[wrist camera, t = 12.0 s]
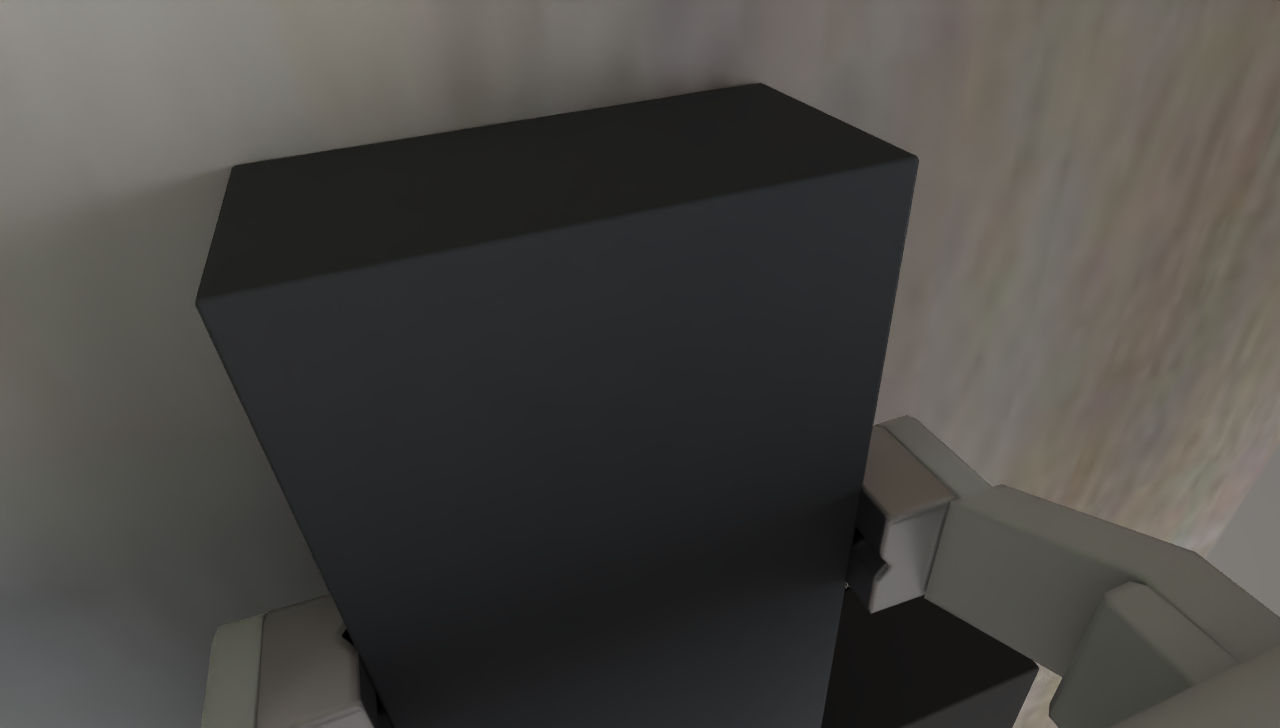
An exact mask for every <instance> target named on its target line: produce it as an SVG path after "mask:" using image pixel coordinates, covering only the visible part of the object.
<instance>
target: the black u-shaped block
mask: <svg viewBox="0 0 1280 728" xmlns="http://www.w3.org/2000/svg"><path fill="white" fill-rule="evenodd" d="M924 597H925V595H922V596H919V597H916V598H914V599H911V600H908V601H905V602H902V603H899V604H896V605H894V606H891V607H888V608H885V609H882V610H879V611H877V612H874V613H871V614H870V612H869V611H868V610H867V608H866V607H865V606H864V604H863V603H862V602H861V600H860V599H859V598H858V597H857V595H856V594H855V593H854V591H853V590H852V589H849V590H847V591H844V596H843V602H842V608H841V614H840V620H839V625H838V631H837V637H836V643H835V648H834V654H833V660H832V666H831V671H830V677H829V683H828V689H827V695H826V700H825V706H824V712H823V718H822V723H821V728H1012V727H1013V725H1014V723H1015V720H1016V718H1017V716H1018V714H1019V712H1020V710H1021V707H1022V705H1023V703H1024V701H1025V699H1026V697H1027V694H1028V692H1029V690H1030V688H1031V686H1032V684H1033V681H1034V679H1035V677H1036V675H1037V673H1038V671H1039V667H1038V666H1037V664H1036V663H1035V662H1034V661H1033V660H1032V659H1030V658H1028V657H1026V656H1025V655H1023V654H1021V653H1019V652H1018V651H1016V650H1014V649H1012V648H1011V647H1009V646H1007V645H1005V644H1004V643H1002V642H1000V641H999V640H997V639H995V638H993V637H992V636H990V635H988V634H986V633H985V632H983V631H981V630H979V629H978V628H976V627H974V626H972V625H971V624H969V623H967V622H965V621H964V620H962V619H960V618H958V617H957V616H955V615H953V614H951V613H950V612H948V611H946V610H944V609H943V608H941V607H939V606H937V605H936V604H934V603H932V602H930V601H929V600H927V599H925V598H924Z"/></svg>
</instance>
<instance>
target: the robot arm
mask: <svg viewBox="0 0 1280 728" xmlns="http://www.w3.org/2000/svg"><path fill="white" fill-rule="evenodd" d="M854 525H855V526H856V527H855V533H854V539H853V544H852V546H851V548H850V554H849V560H848V566H847V572H846V578H845V581H846V582H847V583H848V585H849V586H850V587H851V589H852V590H853V591H854V593H855V594H856V595H857V597H858V598H859V599H860V600H861V602H862V603H863V604H864V606H865V607H866V608H867V610H868V611H869V612H870V614H871V613H874V612H877V611H879V610H882V609H885V608H888V607H891V606H894V605H896V604H899V603H902V602H905V601H908V600H911V599H914V598H916V597H919V596H922V595H925V597H924V598H925V599H927V600H929V601H930V602H932V603H934V604H936V605H937V606H939V607H941V608H943V609H944V610H946V611H948V612H950V613H951V614H953V615H955V616H957V617H958V618H960V619H962V620H964V621H965V622H967V623H969V624H971V625H972V626H974V627H976V628H978V629H979V630H981V631H983V632H985V633H986V634H988V635H990V636H992V637H993V638H995V639H997V640H999V641H1000V642H1002V643H1004V644H1005V645H1007V646H1009V647H1011V648H1012V649H1014V650H1016V651H1018V652H1019V653H1021V654H1023V655H1025V656H1026V657H1028V658H1030V659H1032V660H1033V661H1035V662H1037V663H1039V664H1040V665H1042V666H1044V667H1046V668H1047V669H1049V670H1051V671H1053V672H1054V673H1056V674H1058V675H1060V676H1061V677H1063V678H1062V680H1061V682H1060V684H1059V686H1058V688H1057V690H1056V692H1055V694H1054V696H1053V698H1052V700H1051V702H1050V706H1049V717H1050V718H1051V719H1052V720H1053V721H1054V723H1055V724H1056V725H1057V726H1058V727H1059V728H1280V617H1279V616H1277V615H1276V614H1275V613H1273V612H1272V611H1271V610H1270V609H1268V608H1267V607H1266V606H1264V605H1263V604H1262V603H1261V602H1259V601H1258V600H1257V599H1255V598H1254V597H1253V596H1251V595H1250V594H1249V593H1247V592H1246V591H1245V590H1244V589H1242V588H1241V587H1240V586H1239V585H1237V584H1236V583H1235V582H1233V581H1232V580H1231V579H1230V578H1228V577H1227V576H1226V575H1224V574H1223V573H1222V572H1220V571H1219V570H1218V569H1216V568H1215V567H1214V566H1213V565H1211V564H1210V563H1209V562H1208V561H1206V560H1205V559H1204V558H1202V557H1201V556H1200V555H1198V554H1197V553H1196V552H1194V551H1191V550H1188V549H1185V548H1182V547H1179V546H1176V545H1174V544H1171V543H1168V542H1165V541H1162V540H1159V539H1156V538H1154V537H1151V536H1148V535H1145V534H1142V533H1139V532H1136V531H1134V530H1131V529H1128V528H1125V527H1122V526H1119V525H1116V524H1114V523H1111V522H1108V521H1105V520H1102V519H1099V518H1097V517H1094V516H1091V515H1088V514H1085V513H1082V512H1079V511H1077V510H1074V509H1071V508H1068V507H1065V506H1062V505H1059V504H1057V503H1054V502H1051V501H1048V500H1045V499H1042V498H1039V497H1037V496H1034V495H1031V494H1028V493H1025V492H1022V491H1019V490H1017V489H1014V488H1011V487H1008V486H1005V485H1002V484H1000V485H997V486H994V487H992V486H991V485H989V484H988V483H987V482H986V481H985V480H984V479H983V478H982V477H981V476H979V475H978V474H977V473H976V472H975V471H974V470H973V469H972V468H970V467H969V466H968V465H967V464H966V463H965V462H964V461H963V460H962V459H960V458H959V457H958V456H957V455H956V454H955V453H954V452H953V451H952V450H950V449H949V448H948V447H947V446H946V445H945V444H944V443H943V442H942V441H940V440H939V439H938V438H937V437H936V436H935V435H934V434H933V433H932V432H930V431H929V430H928V429H927V428H926V427H925V426H924V425H923V424H922V423H920V422H919V421H918V420H917V419H915V418H913V417H910V416H908V415H905V416H902V417H899V418H896V419H893V420H890V421H886V422H883V423H880V424H877V425H875V426H873V429H872V435H871V440H870V446H869V452H868V458H867V464H866V469H865V475H864V481H863V487H862V488H861V490H860V496H859V502H858V507H857V513H856V519H855V524H854ZM201 728H393V726H392V723H391V721H390V719H389V717H388V715H387V713H386V711H385V709H384V707H383V705H382V703H381V701H380V699H379V697H378V695H377V692H376V689H375V687H374V685H373V683H372V681H371V679H370V676H369V674H368V672H367V670H366V668H365V666H364V664H363V662H362V660H361V657H360V655H359V653H358V652H357V650H356V648H355V645H354V643H353V641H352V639H351V637H350V635H349V633H348V630H347V628H346V626H345V624H344V622H343V620H342V618H341V615H340V613H339V611H338V609H337V607H336V605H335V603H334V601H333V598H332V596H331V594H329V595H325V596H322V597H318V598H315V599H311V600H307V601H304V602H300V603H297V604H293V605H290V606H286V607H283V608H279V609H276V610H272V611H269V612H267V613H264V614H261V615H257V616H254V617H250V618H247V619H243V620H240V621H236V622H233V623H229V624H226V625H222V626H220V627H219V629H218V631H217V633H216V635H215V637H214V639H213V641H212V649H211V656H210V664H209V671H208V679H207V686H206V693H205V701H204V708H203V716H202V723H201Z"/></svg>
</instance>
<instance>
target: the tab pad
mask: <svg viewBox="0 0 1280 728" xmlns="http://www.w3.org/2000/svg"><path fill="white" fill-rule="evenodd" d="M918 163H919V159H918V157H917V156H915V155H913V154H911V153H909V152H907V151H905V150H903V149H900V148H898V147H896V146H894V145H892V144H890V143H888V142H886V141H883V140H881V139H879V138H877V137H875V136H873V135H871V134H869V133H866V132H864V131H862V130H860V129H858V128H856V127H854V126H852V125H849V124H847V123H845V122H843V121H841V120H839V119H837V118H835V117H832V116H830V115H828V114H826V113H824V112H822V111H820V110H818V109H816V108H813V107H811V106H809V105H807V104H805V103H803V102H801V101H799V100H796V99H794V98H792V97H790V96H788V95H786V94H784V93H782V92H779V91H777V90H775V89H773V88H771V87H769V86H767V85H765V84H762V83H757V84H751V85H745V86H738V87H732V88H726V89H719V90H713V91H707V92H700V93H694V94H688V95H681V96H675V97H669V98H662V99H656V100H650V101H643V102H637V103H631V104H624V105H618V106H612V107H605V108H599V109H593V110H586V111H580V112H574V113H567V114H561V115H555V116H548V117H542V118H536V119H529V120H523V121H517V122H510V123H504V124H498V125H491V126H485V127H479V128H472V129H466V130H460V131H454V132H447V133H441V134H435V135H428V136H422V137H416V138H409V139H403V140H397V141H390V142H384V143H378V144H371V145H365V146H359V147H352V148H346V149H340V150H333V151H327V152H321V153H314V154H308V155H302V156H295V157H289V158H283V159H276V160H270V161H264V162H257V163H251V164H245V165H238V166H234V167H233V168H232V170H231V173H230V177H229V181H228V184H227V188H226V192H225V195H224V199H223V202H222V206H221V210H220V213H219V217H218V221H217V224H216V228H215V231H214V235H213V239H212V242H211V246H210V249H209V253H208V257H207V260H206V264H205V268H204V271H203V275H202V278H201V282H200V286H199V289H198V293H197V297H196V300H195V306H196V308H197V310H198V312H199V314H200V316H201V318H202V321H203V323H204V325H205V327H206V329H207V331H208V333H209V335H210V338H211V340H212V342H213V344H214V346H215V348H216V350H217V353H218V355H219V357H220V359H221V361H222V363H223V365H224V368H225V370H226V372H227V374H228V376H229V378H230V380H231V383H232V385H233V387H234V389H235V391H236V393H237V395H238V397H239V400H240V402H241V404H242V406H243V408H244V410H245V412H246V415H247V417H248V419H249V421H250V423H251V425H252V427H253V430H254V432H255V434H256V436H257V438H258V440H259V442H260V444H261V447H262V449H263V451H264V453H265V455H266V457H267V459H268V462H269V464H270V466H271V468H272V470H273V472H274V474H275V477H276V479H277V481H278V483H279V485H280V487H281V489H282V492H283V494H284V496H285V498H286V500H287V502H288V504H289V506H290V509H291V511H292V513H293V515H294V517H295V519H296V521H297V524H298V526H299V528H300V530H301V532H302V534H303V536H304V539H305V541H306V543H307V545H308V547H309V549H310V551H311V553H312V556H313V558H314V560H315V562H316V564H317V566H318V568H319V571H320V573H321V575H322V577H323V579H324V581H325V583H326V586H327V588H328V590H329V592H330V594H331V596H332V598H333V601H334V603H335V605H336V607H337V609H338V611H339V613H340V615H341V618H342V620H343V622H344V624H345V626H346V628H347V630H348V633H349V635H350V637H351V639H352V641H353V643H354V645H355V648H356V650H357V652H358V653H359V655H360V657H361V660H362V662H363V664H364V666H365V668H366V670H367V672H368V674H369V676H370V679H371V681H372V683H373V685H374V687H375V689H376V692H377V695H378V697H379V699H380V701H381V703H382V705H383V707H384V709H385V711H386V713H387V715H388V717H389V719H390V721H391V723H392V726H393V728H821V723H822V718H823V712H824V706H825V700H826V695H827V689H828V683H829V677H830V671H831V666H832V660H833V654H834V648H835V643H836V637H837V631H838V625H839V620H840V614H841V608H842V602H843V596H844V591H845V585H846V581H845V578H846V572H847V566H848V560H849V554H850V548H851V546H852V544H853V539H854V533H855V527H856V526H855V525H854V524H855V519H856V513H857V507H858V502H859V496H860V490H861V488H862V487H863V481H864V475H865V469H866V464H867V458H868V452H869V446H870V440H871V435H872V429H873V423H874V417H875V412H876V406H877V400H878V394H879V388H880V383H881V377H882V371H883V365H884V360H885V354H886V348H887V342H888V336H889V331H890V325H891V319H892V313H893V308H894V302H895V296H896V290H897V284H898V279H899V273H900V267H901V261H902V256H903V250H904V244H905V238H906V232H907V227H908V221H909V215H910V209H911V204H912V198H913V192H914V186H915V180H916V175H917V169H918Z"/></svg>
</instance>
